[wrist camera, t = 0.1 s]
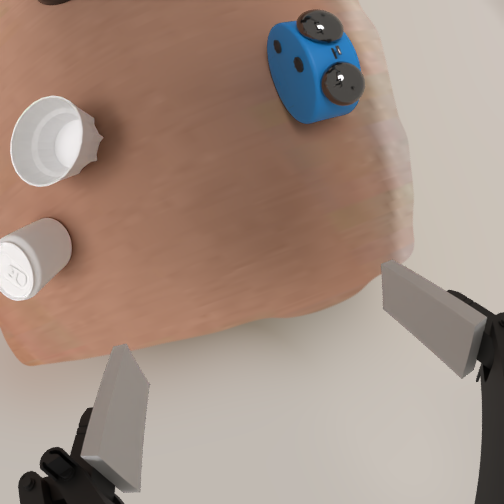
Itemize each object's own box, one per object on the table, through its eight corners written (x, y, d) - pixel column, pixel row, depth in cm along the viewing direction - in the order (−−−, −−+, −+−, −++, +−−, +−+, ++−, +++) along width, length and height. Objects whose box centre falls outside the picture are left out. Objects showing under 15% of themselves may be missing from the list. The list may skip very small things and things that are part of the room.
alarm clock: (326, 119, 38) (387, 105, 24) (287, 130, 38) (336, 116, 24) (296, 39, 34) (342, -6, 20) (256, 47, 33) (288, -3, 19)
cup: (58, 104, 30) (24, 92, 21) (118, 115, 33) (94, 101, 24) (40, 172, 33) (3, 177, 23) (98, 186, 35) (69, 194, 26)
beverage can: (41, 206, 34) (-4, 224, 23) (81, 235, 37) (45, 263, 25) (24, 251, 35) (-18, 280, 24) (62, 279, 38) (27, 316, 27)
